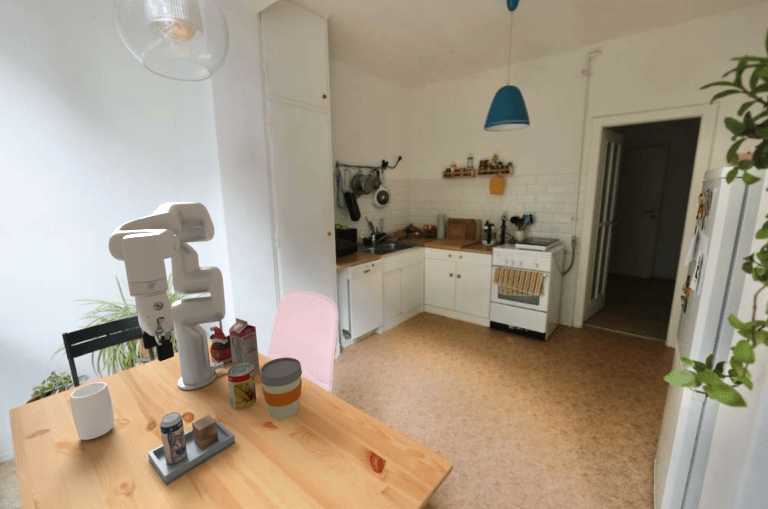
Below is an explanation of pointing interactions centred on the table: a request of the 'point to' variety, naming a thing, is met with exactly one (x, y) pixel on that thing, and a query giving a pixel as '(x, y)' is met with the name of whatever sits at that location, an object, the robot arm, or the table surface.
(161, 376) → the table surface
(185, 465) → the tray
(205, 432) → the block
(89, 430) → the cup
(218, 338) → the christmas cupcake figurine
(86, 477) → the table surface
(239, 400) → the canned food
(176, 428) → the beer can
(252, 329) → the juice carton
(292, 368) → the reusable coffee cup
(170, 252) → the robot arm
